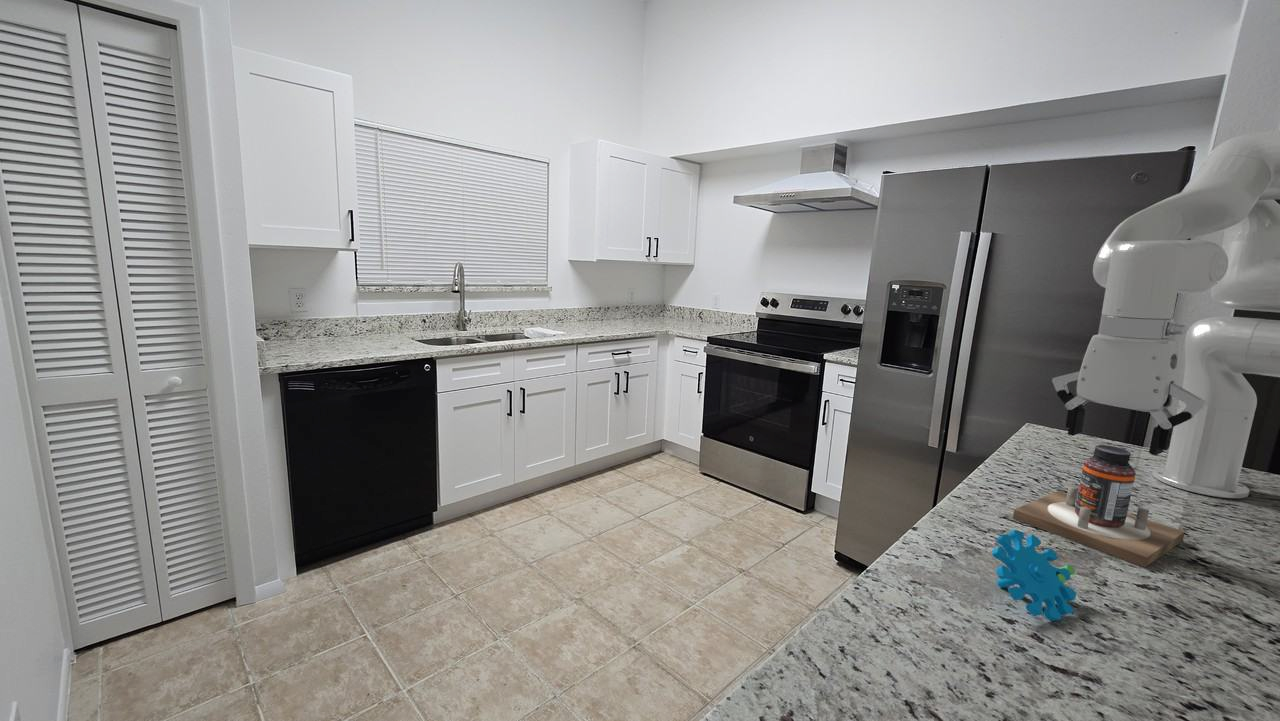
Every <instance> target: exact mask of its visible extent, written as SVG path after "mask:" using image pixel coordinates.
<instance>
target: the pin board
mask: <svg viewBox="0 0 1280 721" xmlns="http://www.w3.org/2000/svg"><path fill="white" fill-rule="evenodd" d="M1078 490H1079V487H1078V488H1077V487H1075V486H1068V488H1067V493H1064V492H1062V491H1056V492H1052V493H1050V494H1047V495H1045V496H1043V497H1040V498H1038V499H1036V500H1033V501H1031V502H1028V503H1026V504H1024V505H1021V506H1019V507H1016V508H1014V509H1013V514H1012V519H1014V520H1017V521H1019V522H1022V523H1025V524H1027V525H1031V526H1033V527H1035V528H1038V529H1041V530H1044V531H1046V532H1048V531H1049V533H1051V532H1052V533H1051V534H1054V535H1056V534H1057V535H1056V536H1059V535H1060V536H1059V537H1061V538H1065V539H1067V540H1069V541H1071V542H1075V543H1078V544H1080V545H1083V546H1085V545H1086V547H1088V548H1091V549H1094V550H1096V551H1098V552H1102V553H1105V554H1107V555H1109V554H1110V556H1112V557H1115V558H1118V559H1120V560H1123V561H1125V562H1128V563H1131V564H1134V565H1136V566H1139V567H1141V568H1144V569H1145V568H1147V567H1148V566H1149V565H1151V564H1152V563H1154V562H1155V561H1156V560H1158V559H1159V558H1161V557H1162V556H1164V555H1165V554H1167V552H1169V551H1171V550H1172V549H1174V548H1176V546H1178V545H1179V544H1181V543H1182V542H1184V538H1185V533H1186V532H1185V531H1184V530H1181V529H1178V528H1176V527H1173V526H1169V525H1167V524H1162V523H1160V522H1156V521H1153V520H1150V519H1148V518H1149V514H1150V510H1149V509H1147V508H1144V507H1138V508H1137V512H1136V515H1135V514H1130V513H1128V512H1127V516H1126V520H1125V524H1124V525H1123V526H1120V527H1107V526H1101V525H1097V524H1093V523H1091V522H1089V519H1090V513H1091V509H1090V508H1087V507H1081V508H1080V513H1079V516H1078V515H1077V514H1076V513H1075V505H1076V500H1077V495H1078Z"/></svg>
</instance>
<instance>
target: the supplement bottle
mask: <svg viewBox="0 0 1280 721" xmlns="http://www.w3.org/2000/svg"><path fill="white" fill-rule="evenodd" d="M1131 453H1132V452H1130V451H1129V450H1128V449H1125V448H1121V447H1118V446H1113V445H1107V444H1098V445H1096V446H1095V448H1094V452H1093V455H1092V457H1088V458H1087V459H1085V460H1084V462H1083V465H1082V470H1081V474H1080V481H1079V487H1078V492H1077V500H1076V505H1075V513H1076V514H1077V515H1078V516H1079V513H1080V508H1081V507H1087V508H1090V509H1091V513H1090V519H1089V522H1091V523H1093V524H1097V525H1101V526H1107V527H1120V526H1123V525H1124V524H1125V520H1126V516H1127V513H1128V510H1129V506H1130V503H1131V497H1132V493H1133V488H1134V484H1135V479H1136V470H1135V467H1133V466H1132V465H1131V464H1130V463H1129V462H1130V460H1131Z"/></svg>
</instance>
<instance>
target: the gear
mask: <svg viewBox="0 0 1280 721" xmlns="http://www.w3.org/2000/svg"><path fill="white" fill-rule="evenodd" d="M1023 540H1025V546H1024V544H1023V543H1022V542H1023ZM996 541H997V543H998V544H999V546H997V547H995V548H994V549H992V553H991V555H992V556H993V558H995V559H997V560H998V561H1001V562H1002V563H1003V565H1001V566H997V567H996V575H997V578H998V579H997V580H996V583H997V586H998V587H999V588H1002V589H1004V588H1005V589H1006V588H1007V591H1008V594H1009V596H1011V599H1013V600H1014V601H1019V600H1021V599H1024V598H1025V596H1026V595H1028V596H1029V597H1031V599H1032V602H1029V603H1027V604H1026V605H1025V609H1026V610H1027V612H1028V613H1029V614H1030V615H1032V616H1034V617H1038V616H1041V615H1043V614H1044V618H1046V619H1047V620H1049V621H1051V622H1058V621H1061V620H1062V616H1065V615H1070V614H1072V613H1074V611H1075V610H1074V609H1073V607H1072V605H1071V604H1069V603H1068V602H1070V601H1075V600H1076V598H1077V592H1076V590H1075V589H1073V588H1071V587H1069V586H1067V585H1066V584H1065V583H1066V582H1068V581H1069V580H1071V576H1073V575H1075V574H1076V569H1075V567H1074V566H1072V565H1070V564H1068V565H1065V566H1061V567H1056V566H1053V565H1052V564H1051V562H1053V561H1057V560H1058V559H1059V556H1058V555H1057V553H1056V551H1054V549H1053V548H1049V549H1045V550H1043V551H1042V553H1039V552H1037V550H1036V548H1035V547H1038V546H1040V545H1041V544H1042V541H1041V540H1040V538H1038V537H1037V536H1036V535H1034V534H1031V535H1028V536H1026V537H1025V534H1024V532H1023V531H1021V530H1018V529H1013V530H1010V531H1009V532H1008V533H1007V534H1006V533H1005V534H1002V535H1000V536H997V537H996ZM1012 544H1013V545H1012ZM1016 585H1018V586H1016ZM1043 603H1044V604H1045V607H1046V609H1045V610H1044V611H1043Z"/></svg>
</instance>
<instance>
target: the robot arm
mask: <svg viewBox="0 0 1280 721" xmlns="http://www.w3.org/2000/svg"><path fill="white" fill-rule="evenodd" d="M1276 200H1280V129H1276V130H1268V131H1261V132H1254V133H1253V132H1252V133H1247V134H1242V135H1238V136H1235V137H1232V138H1230V139H1226V140H1225V141H1223V142H1221V143H1220V144H1218V145H1217V146H1216V147H1215V148H1214V149H1212V151H1211V152H1210V153H1209V154H1208V156H1207V157H1206V158H1205V160H1204V161H1203V162H1202V163H1201V164H1200V166H1199V167H1198V169H1197V170H1196V172H1195V173H1194V175H1193V176H1192V177H1191V179H1189V181H1188V183H1187V184H1186V185H1185V186H1184V188H1183V189H1182V190H1181V191H1180V192H1178V193H1177V194H1175V195H1172V196H1170V197H1168V198H1165V199H1163V200H1160V201H1158V202H1156V203H1154V204H1152V205H1151V206H1147V207H1145V208H1144V209H1141V210H1139V211H1138V212H1136V213H1134V214H1132V215H1130V216H1129V217H1127V218H1126V219H1124V220H1123V221H1122V222H1120V224H1118V225H1117V226H1116V227H1115V229H1113V231H1112V232H1111V233H1110V235H1109V236H1108V237H1107V238H1106V240H1105V241H1104V243H1102V245H1101V247H1100V249H1099V251H1098V252H1097V254H1096V257H1095V259H1094V262H1093V265H1092V266H1093V267H1092V275H1093V279H1094V281H1095V282H1096V283H1097V284H1098V285H1099V286H1100V287H1102V288H1105V291H1104V297H1103V303H1102V309H1101V315H1100V321H1099V328H1098V333H1097V334H1094V335H1092V337H1091V339H1090V341H1089V343H1088V345H1087V347H1086V348H1087V349H1086V351H1085V354H1084V356H1083V359H1082V363H1081V366H1080V369H1079V371H1075V372H1070V373H1067V374H1064V375H1059V376H1056V377H1052V380H1051V382H1052V384H1053V387H1054V389H1055V391H1056V395H1057V397H1058V398H1059V399H1060V401H1062V403H1063V404H1064V407H1065V409H1066V410H1067V414H1066V422H1065V427H1066V428H1067V429H1068V430H1067V435H1068V436H1072V437H1073V436H1076V435H1079V434H1082V432H1083V427H1084V422H1085V415H1086V409H1085V408H1084V405H1085V404H1087V403H1088V402H1091V403H1097V404H1101V405H1105V406H1106V405H1107V406H1111V407H1118V408H1121V409H1123V408H1124V409H1128V410H1134V411H1139V412H1144V413H1145V412H1147V413H1149V414H1150V415H1151V416H1152V418H1153V419H1154V420H1155V422H1157V426H1155V427H1154V428H1153V431H1152V435H1151V441H1150V446H1149V451H1148V452H1149V454H1150V455H1152V456H1157V455H1160V454H1162V453H1164V451H1168V454H1167V456H1166V457H1167V458H1166V462H1165V466H1159V467H1154V469H1153V470H1152V477H1154V478H1155V479H1156V480H1158V481H1159V482H1161V483H1164V484H1166V485H1168V486H1172V487H1175V488H1178V489H1180V490H1184V491H1188V492H1192V493H1196V494H1200V495H1205V496H1209V497H1216V498H1223V499H1224V498H1225V499H1245V498H1247V497H1248V496H1249V495H1250V489H1249V487H1248V486H1246V485H1244V484H1242V483H1240V482H1239V480H1240V476H1241V472H1242V467H1243V463H1244V459H1245V455H1246V451H1247V447H1248V443H1249V442H1248V441H1249V437H1250V434H1251V429H1252V425H1253V421H1254V417H1255V412H1256V409H1257V404H1258V397H1257V394H1256V391H1255V389H1254V388H1253V387H1252V386H1251V384H1250V383H1249V381H1248V380H1247V379H1246V378H1245V376H1244V375H1243V374H1248V375H1249V374H1250V375H1251V374H1253V375H1260V376H1267V377H1268V376H1269V377H1274V378H1280V320H1277V319H1265V318H1257V317H1256V318H1253V317H1240V316H1212V317H1205V318H1203V319H1199V320H1198V321H1195V322H1194V323H1192V324H1191V326H1190V327H1189V328H1188V330H1187V331H1186V328H1187V327H1186V325H1184V324H1179V323H1176V321H1175V318H1174V313H1175V308H1176V303H1177V296H1178V294H1195V293H1202V292H1206V291H1208V290H1210V298H1211V301H1212V302H1213V303H1214V304H1215V305H1216V306H1219V307H1222V308H1225V309H1230V310H1231V309H1232V310H1241V311H1251V312H1252V311H1253V312H1255V311H1257V312H1269V313H1270V312H1271V313H1280V203H1278V202H1277V201H1276ZM1223 230H1224V235H1223V240H1222V244H1221V245H1219V244H1217V243H1216V242H1213V241H1210V240H1203V239H1192V238H1198V237H1201V236H1204V235H1209V234H1213V233H1216V232H1219V231H1223ZM1185 332H1186V334H1185ZM1184 334H1185V338H1184V363H1185V364H1184V375H1183V382H1182V387H1181V386H1179V385H1178V384H1177V378H1178V377H1177V376H1178V359H1179V358H1178V346H1177V341H1172V340H1169V339H1170V338H1172V336H1177V335H1180V336H1181V335H1184ZM1076 381H1077V383H1076V396H1075V395H1074V394H1073V393H1072V392H1071V389H1069V388H1068V383H1071V382H1076ZM1175 398H1176V399H1178V400H1179V401H1178V406H1177V412H1176V414H1175V415H1174V414H1173V413H1172V411H1171V410H1170V409H1169V408H1170V407H1171V406H1172V405H1173V403H1174V400H1175Z"/></svg>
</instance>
